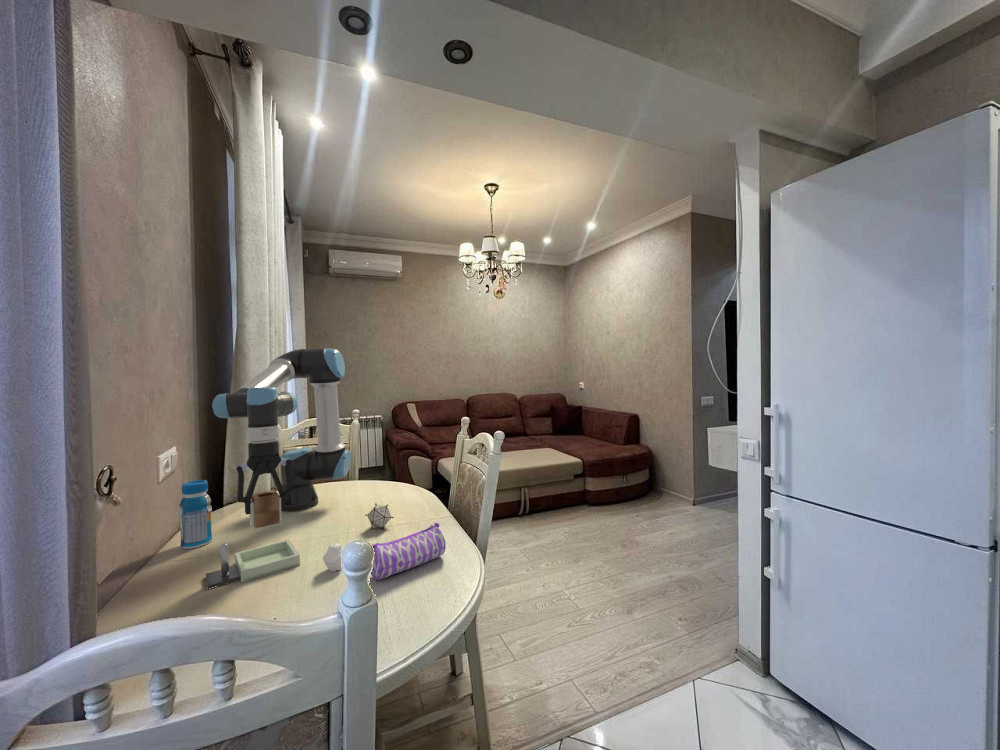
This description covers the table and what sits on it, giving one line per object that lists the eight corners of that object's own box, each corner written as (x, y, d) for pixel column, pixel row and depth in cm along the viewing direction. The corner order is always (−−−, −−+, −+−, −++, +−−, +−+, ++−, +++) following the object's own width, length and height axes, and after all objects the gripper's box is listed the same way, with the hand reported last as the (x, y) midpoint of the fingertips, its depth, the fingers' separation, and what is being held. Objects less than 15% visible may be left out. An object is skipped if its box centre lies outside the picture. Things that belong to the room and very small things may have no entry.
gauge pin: (241, 567, 112) (240, 535, 112) (244, 578, 106) (243, 544, 106) (205, 577, 107) (204, 544, 107) (207, 589, 101) (206, 554, 101)
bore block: (275, 517, 118) (274, 490, 118) (279, 522, 113) (279, 494, 113) (252, 522, 114) (251, 494, 114) (255, 528, 109) (254, 499, 109)
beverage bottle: (191, 551, 123) (189, 487, 123) (173, 547, 126) (171, 485, 126) (218, 540, 131) (217, 480, 131) (201, 537, 134) (199, 478, 134)
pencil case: (431, 548, 122) (430, 517, 122) (450, 557, 115) (449, 525, 115) (363, 576, 106) (362, 541, 106) (381, 589, 99) (380, 551, 99)
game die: (378, 540, 137) (366, 524, 131) (369, 525, 143) (357, 509, 137) (401, 523, 141) (390, 506, 135) (390, 509, 146) (380, 492, 141)
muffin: (349, 562, 114) (348, 537, 113) (344, 572, 108) (344, 547, 107) (326, 564, 112) (325, 540, 112) (320, 575, 106) (319, 549, 106)
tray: (289, 548, 123) (288, 539, 123) (300, 565, 113) (299, 554, 113) (235, 563, 114) (234, 553, 114) (241, 582, 104) (241, 571, 104)
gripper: (224, 447, 104) (226, 535, 104) (303, 438, 116) (305, 517, 116) (221, 443, 110) (224, 526, 110) (297, 435, 122) (299, 510, 122)
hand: (265, 521), depth 113 cm, fingers closed on bore block, 6 cm apart
